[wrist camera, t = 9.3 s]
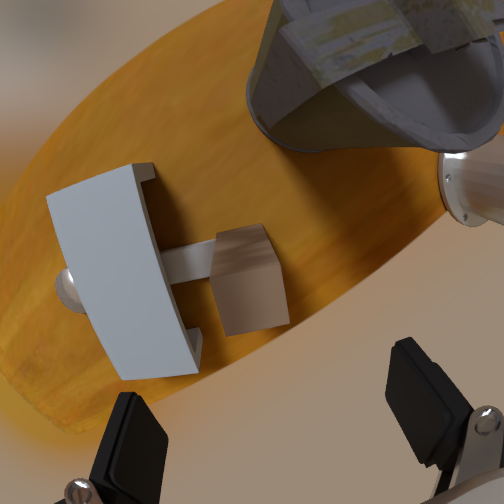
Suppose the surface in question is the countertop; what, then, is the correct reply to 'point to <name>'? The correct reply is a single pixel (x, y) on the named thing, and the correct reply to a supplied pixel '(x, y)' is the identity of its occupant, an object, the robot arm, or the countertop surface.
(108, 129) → the countertop surface
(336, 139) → the canister
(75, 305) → the token
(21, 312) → the countertop surface
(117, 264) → the shelf
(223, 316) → the pusher
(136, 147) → the countertop surface
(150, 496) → the robot arm
